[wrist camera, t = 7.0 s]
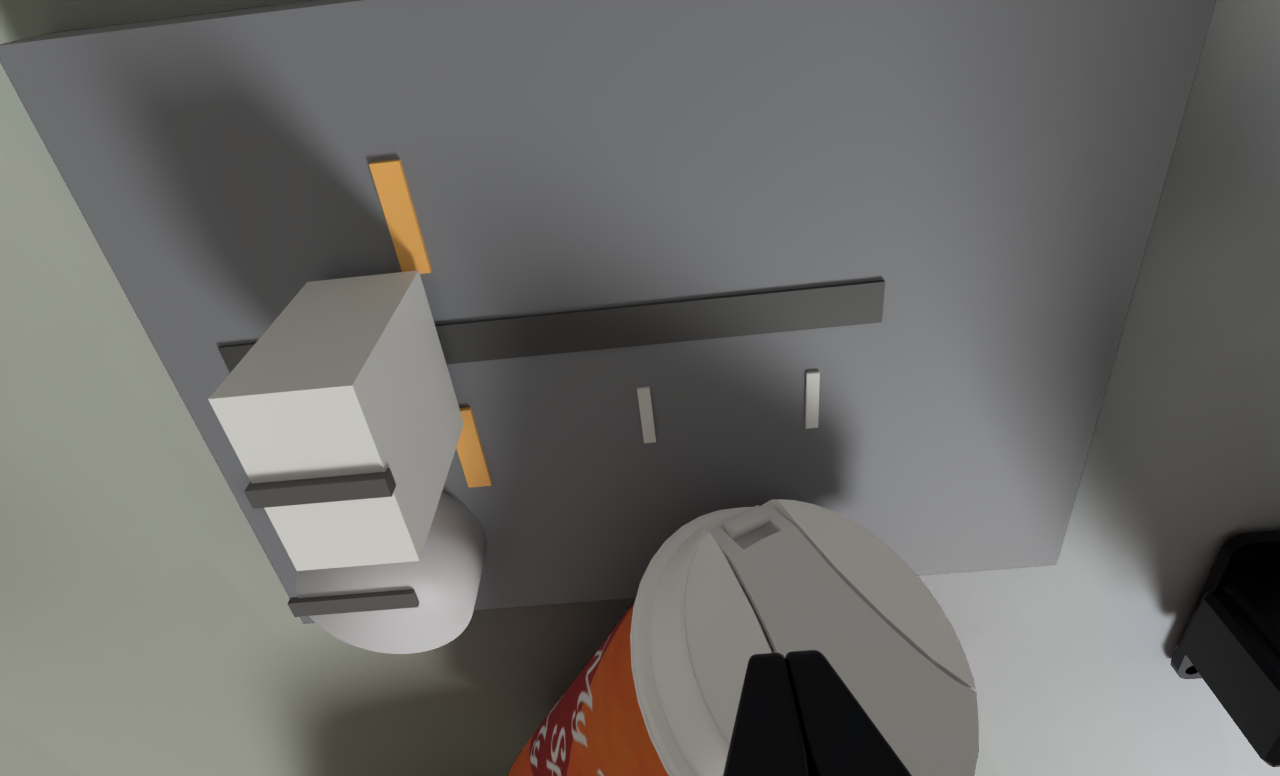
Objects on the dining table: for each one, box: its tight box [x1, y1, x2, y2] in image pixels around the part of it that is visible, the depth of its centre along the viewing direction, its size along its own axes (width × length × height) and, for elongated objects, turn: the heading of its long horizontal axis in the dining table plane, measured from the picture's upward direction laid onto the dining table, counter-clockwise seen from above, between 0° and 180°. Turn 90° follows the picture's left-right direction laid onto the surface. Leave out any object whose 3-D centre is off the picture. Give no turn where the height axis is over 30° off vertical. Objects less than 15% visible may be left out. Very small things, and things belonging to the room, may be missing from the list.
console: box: [0, 0, 1216, 654], centre depth 17 cm, size 22×16×4 cm
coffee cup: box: [508, 499, 979, 776], centre depth 21 cm, size 8×8×15 cm
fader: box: [208, 270, 464, 571], centre depth 15 cm, size 2×4×5 cm, turn 6°
